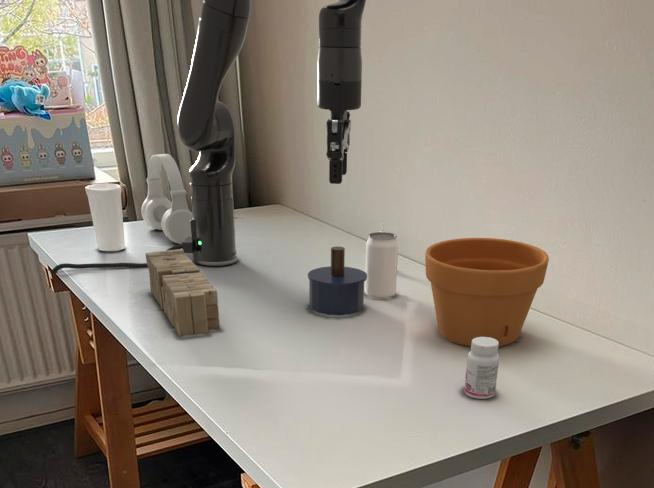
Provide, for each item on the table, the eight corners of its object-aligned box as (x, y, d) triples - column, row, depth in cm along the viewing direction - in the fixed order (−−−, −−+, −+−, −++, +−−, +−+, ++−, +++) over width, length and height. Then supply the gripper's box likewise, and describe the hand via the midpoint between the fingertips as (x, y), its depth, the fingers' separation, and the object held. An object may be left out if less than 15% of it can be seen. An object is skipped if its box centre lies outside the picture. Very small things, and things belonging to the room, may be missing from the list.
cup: (136, 248, 187) (128, 186, 180) (110, 255, 181) (102, 191, 174) (112, 243, 191) (104, 181, 183) (86, 250, 185) (77, 187, 177)
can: (399, 292, 162) (402, 233, 156) (390, 301, 157) (393, 240, 150) (370, 288, 164) (372, 230, 157) (360, 297, 158) (362, 237, 152)
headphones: (200, 242, 193) (194, 159, 182) (168, 246, 189) (159, 162, 179) (172, 225, 207) (165, 147, 197) (142, 229, 203) (132, 149, 193)
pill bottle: (460, 386, 121) (466, 335, 117) (490, 386, 122) (497, 335, 117) (467, 400, 117) (473, 347, 113) (498, 399, 118) (505, 346, 113)
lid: (303, 287, 145) (303, 254, 142) (311, 270, 154) (311, 239, 151) (364, 290, 144) (365, 257, 141) (369, 273, 154) (370, 241, 150)
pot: (306, 316, 148) (306, 284, 145) (313, 299, 157) (313, 268, 154) (360, 319, 147) (361, 286, 144) (365, 301, 156) (366, 270, 153)
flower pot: (462, 363, 129) (471, 275, 122) (398, 324, 145) (402, 244, 138) (560, 344, 138) (575, 260, 130) (490, 308, 154) (499, 232, 146)
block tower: (222, 338, 140) (187, 286, 162) (219, 293, 135) (184, 246, 157) (178, 343, 137) (149, 290, 159) (174, 297, 132) (144, 248, 155)
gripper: (322, 74, 137) (322, 171, 146) (311, 79, 125) (312, 185, 134) (364, 75, 137) (362, 172, 145) (358, 81, 125) (355, 187, 133)
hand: (338, 178), depth 139 cm, fingers open, 8 cm apart
